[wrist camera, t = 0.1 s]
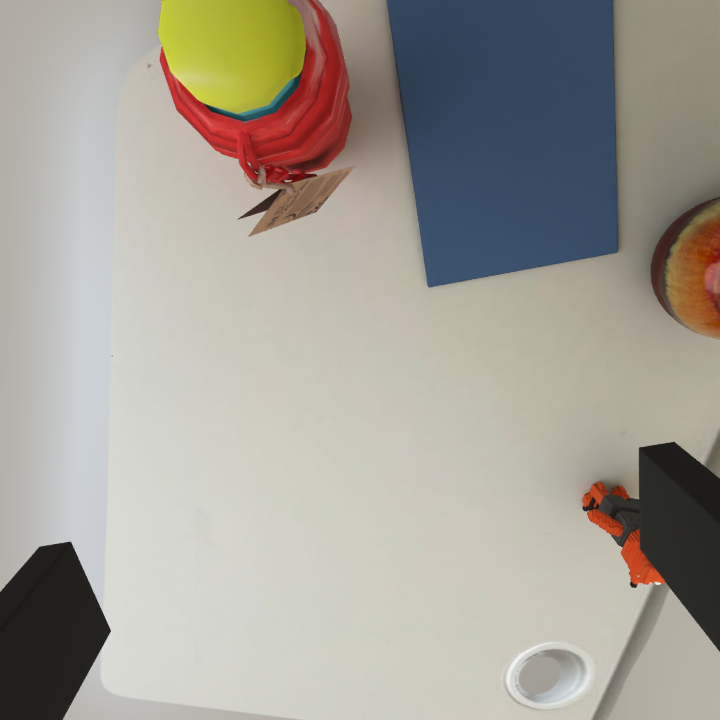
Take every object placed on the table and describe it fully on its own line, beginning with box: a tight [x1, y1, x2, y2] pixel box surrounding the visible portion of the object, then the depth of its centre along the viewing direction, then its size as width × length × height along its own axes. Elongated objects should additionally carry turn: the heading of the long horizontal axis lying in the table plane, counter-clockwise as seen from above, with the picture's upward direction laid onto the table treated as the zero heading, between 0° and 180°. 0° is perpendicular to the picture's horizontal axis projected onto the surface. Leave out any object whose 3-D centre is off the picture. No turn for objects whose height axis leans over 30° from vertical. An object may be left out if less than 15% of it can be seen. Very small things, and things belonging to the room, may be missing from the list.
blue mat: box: [387, 0, 618, 287], centre depth 40 cm, size 22×16×1 cm
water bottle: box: [158, 0, 354, 237], centre depth 28 cm, size 12×8×25 cm, turn 179°
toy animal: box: [582, 482, 665, 588], centre depth 45 cm, size 8×6×12 cm
